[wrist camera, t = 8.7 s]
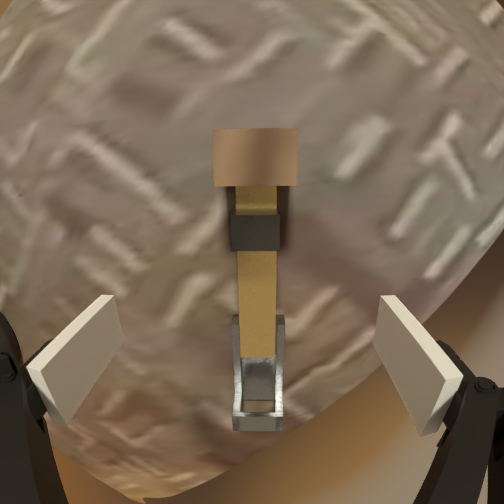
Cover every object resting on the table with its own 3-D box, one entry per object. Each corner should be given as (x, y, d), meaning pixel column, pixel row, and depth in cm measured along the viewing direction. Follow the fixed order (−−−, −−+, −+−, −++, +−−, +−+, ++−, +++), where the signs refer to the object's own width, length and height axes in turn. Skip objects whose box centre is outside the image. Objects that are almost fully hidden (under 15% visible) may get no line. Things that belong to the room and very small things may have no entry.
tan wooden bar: (242, 334, 38) (236, 379, 29) (238, 152, 32) (228, 147, 23) (274, 334, 38) (276, 379, 29) (275, 151, 32) (279, 146, 23)
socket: (225, 181, 34) (213, 186, 26) (224, 137, 33) (212, 130, 25) (289, 181, 34) (297, 185, 26) (289, 137, 32) (297, 128, 24)
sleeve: (237, 395, 42) (233, 430, 35) (233, 314, 38) (226, 346, 31) (280, 395, 42) (282, 431, 35) (284, 314, 38) (287, 347, 31)
